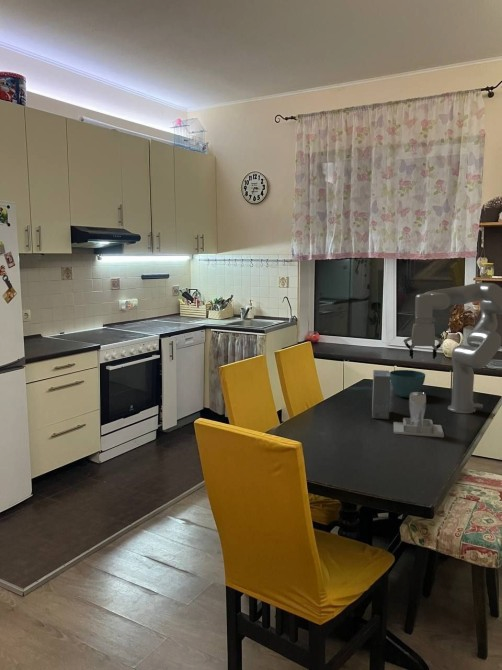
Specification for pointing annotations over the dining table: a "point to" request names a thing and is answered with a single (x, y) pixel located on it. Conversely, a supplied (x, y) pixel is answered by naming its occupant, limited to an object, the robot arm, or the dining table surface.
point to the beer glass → (417, 407)
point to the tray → (400, 430)
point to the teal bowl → (406, 381)
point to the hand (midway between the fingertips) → (422, 358)
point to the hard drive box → (381, 394)
